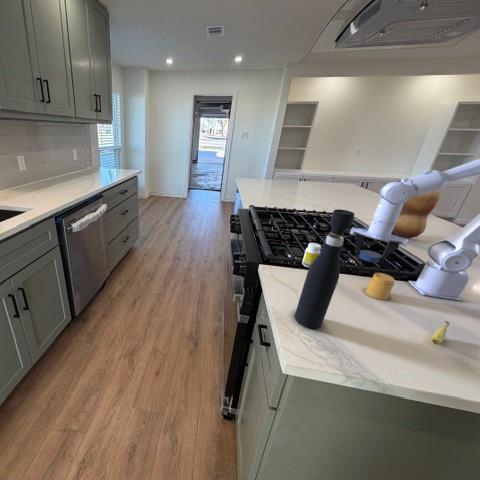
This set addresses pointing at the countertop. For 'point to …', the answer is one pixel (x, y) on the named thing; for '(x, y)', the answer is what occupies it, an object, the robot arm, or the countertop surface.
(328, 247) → the black water bottle
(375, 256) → the jar lid
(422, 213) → the butternut squash
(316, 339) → the countertop surface
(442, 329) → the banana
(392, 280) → the jam jar
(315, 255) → the supplement bottle
